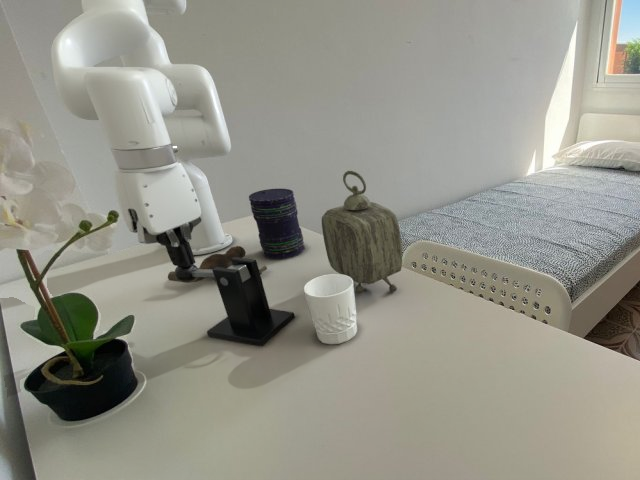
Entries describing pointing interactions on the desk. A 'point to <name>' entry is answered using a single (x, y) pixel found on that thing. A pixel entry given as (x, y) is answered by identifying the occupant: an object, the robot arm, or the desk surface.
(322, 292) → the white cup
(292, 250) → the dark blue cylinder
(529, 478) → the desk surface
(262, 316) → the bracket
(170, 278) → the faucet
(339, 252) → the tabletop clock
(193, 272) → the tap lever
